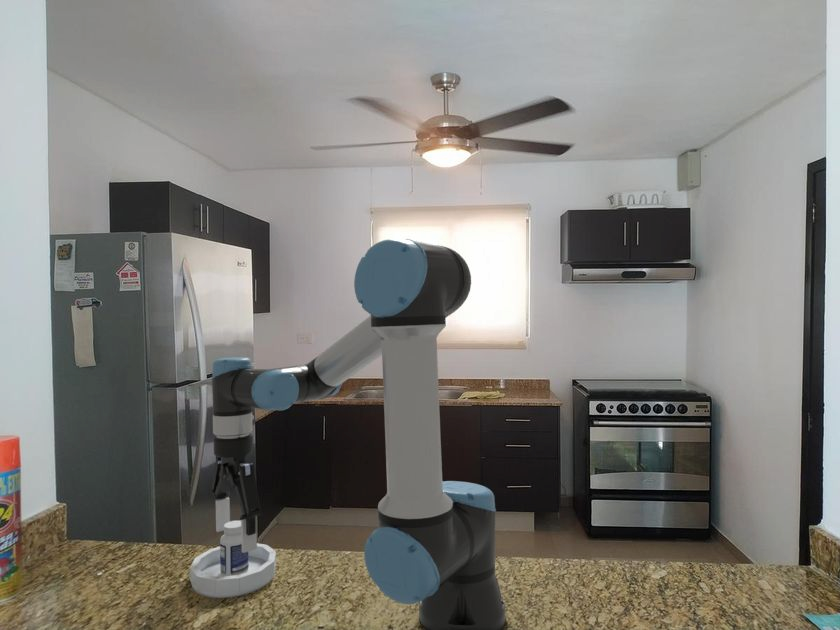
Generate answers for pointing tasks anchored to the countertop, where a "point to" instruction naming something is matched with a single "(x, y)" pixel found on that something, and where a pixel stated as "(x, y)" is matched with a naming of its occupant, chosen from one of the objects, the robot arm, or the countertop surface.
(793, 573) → the countertop surface
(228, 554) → the pill bottle
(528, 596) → the countertop surface
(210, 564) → the dish
